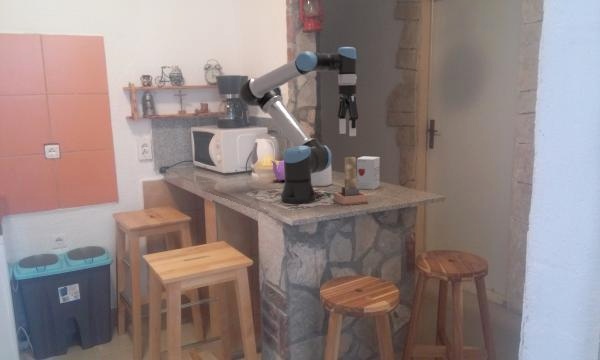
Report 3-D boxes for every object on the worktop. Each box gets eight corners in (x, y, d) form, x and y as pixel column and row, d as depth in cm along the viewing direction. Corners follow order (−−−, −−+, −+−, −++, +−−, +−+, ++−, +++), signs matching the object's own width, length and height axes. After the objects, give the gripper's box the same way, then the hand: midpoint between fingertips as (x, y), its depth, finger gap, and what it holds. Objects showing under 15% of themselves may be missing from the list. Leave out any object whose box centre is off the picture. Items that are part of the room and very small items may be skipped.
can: (322, 187, 240) (321, 147, 236) (302, 185, 247) (301, 146, 244) (336, 183, 250) (335, 145, 246) (316, 181, 257) (315, 144, 254)
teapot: (280, 185, 249) (279, 161, 247) (263, 182, 260) (262, 159, 257) (308, 180, 262) (308, 157, 260) (291, 177, 273) (291, 155, 270)
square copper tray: (343, 205, 201) (343, 191, 199) (333, 200, 211) (333, 186, 210) (367, 203, 204) (367, 189, 203) (356, 198, 214) (356, 184, 213)
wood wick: (347, 200, 205) (346, 158, 202) (344, 199, 208) (344, 157, 204) (355, 199, 207) (355, 157, 203) (353, 198, 209) (353, 157, 206)
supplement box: (356, 188, 235) (356, 158, 233) (362, 185, 243) (362, 155, 241) (373, 189, 231) (374, 159, 229) (379, 186, 239) (380, 156, 236)
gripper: (366, 84, 194) (366, 136, 197) (346, 85, 218) (346, 132, 221) (348, 84, 192) (348, 137, 196) (330, 85, 216) (330, 132, 220)
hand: (347, 134), depth 209 cm, fingers open, 13 cm apart
